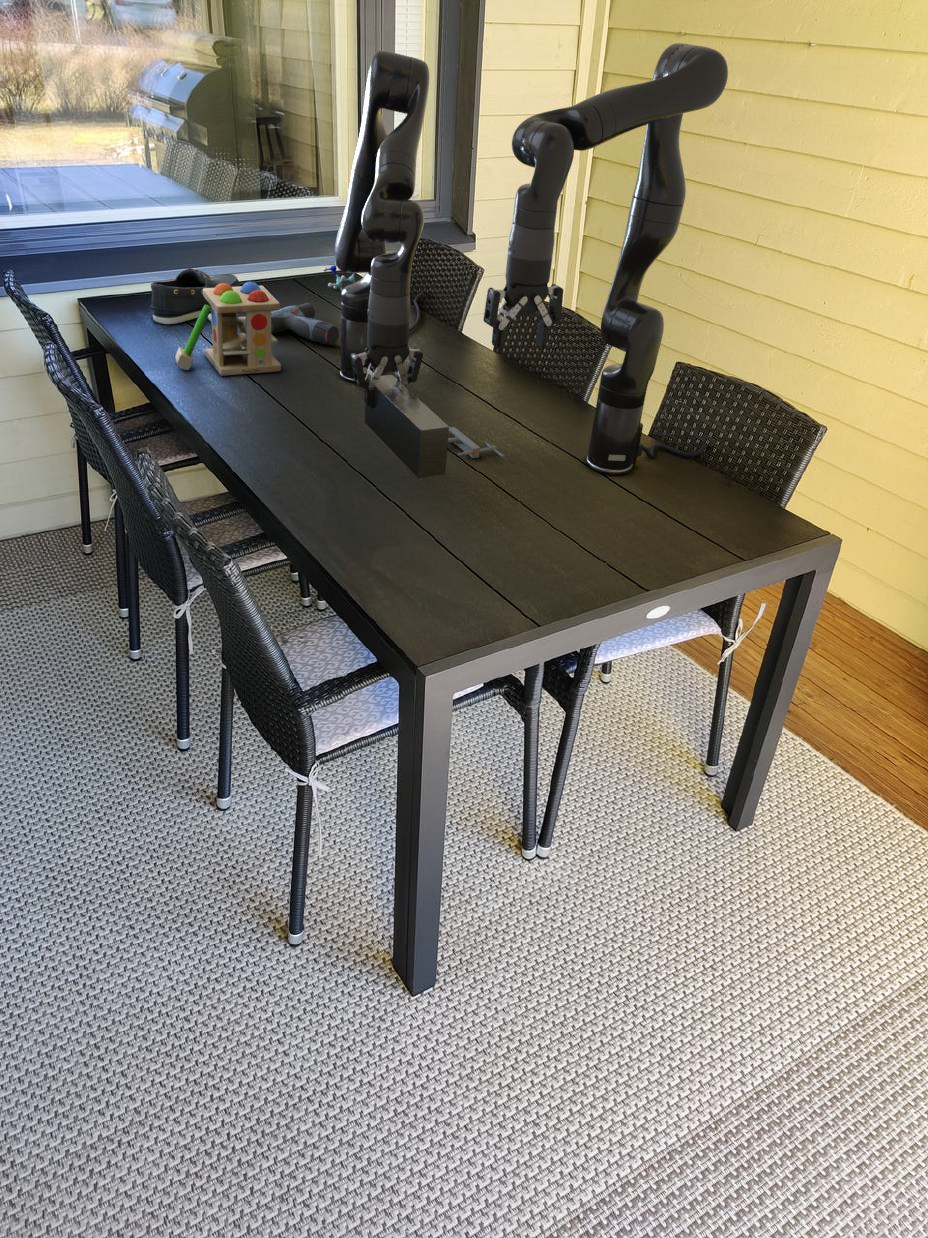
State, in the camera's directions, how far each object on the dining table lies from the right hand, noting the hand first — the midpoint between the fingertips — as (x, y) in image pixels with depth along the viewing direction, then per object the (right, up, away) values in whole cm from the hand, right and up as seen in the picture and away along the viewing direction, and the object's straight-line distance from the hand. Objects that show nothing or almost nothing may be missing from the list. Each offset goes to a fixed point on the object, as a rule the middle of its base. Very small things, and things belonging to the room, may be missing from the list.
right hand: (519, 347), depth 173 cm
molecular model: (-46, +48, +113) cm, 131 cm away
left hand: (-25, -7, +13) cm, 29 cm away
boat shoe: (-81, +35, +90) cm, 126 cm away
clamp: (-9, -13, +29) cm, 33 cm away
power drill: (-49, +26, +80) cm, 98 cm away
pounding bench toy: (-66, +12, +57) cm, 88 cm away
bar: (-21, -16, +9) cm, 28 cm away
